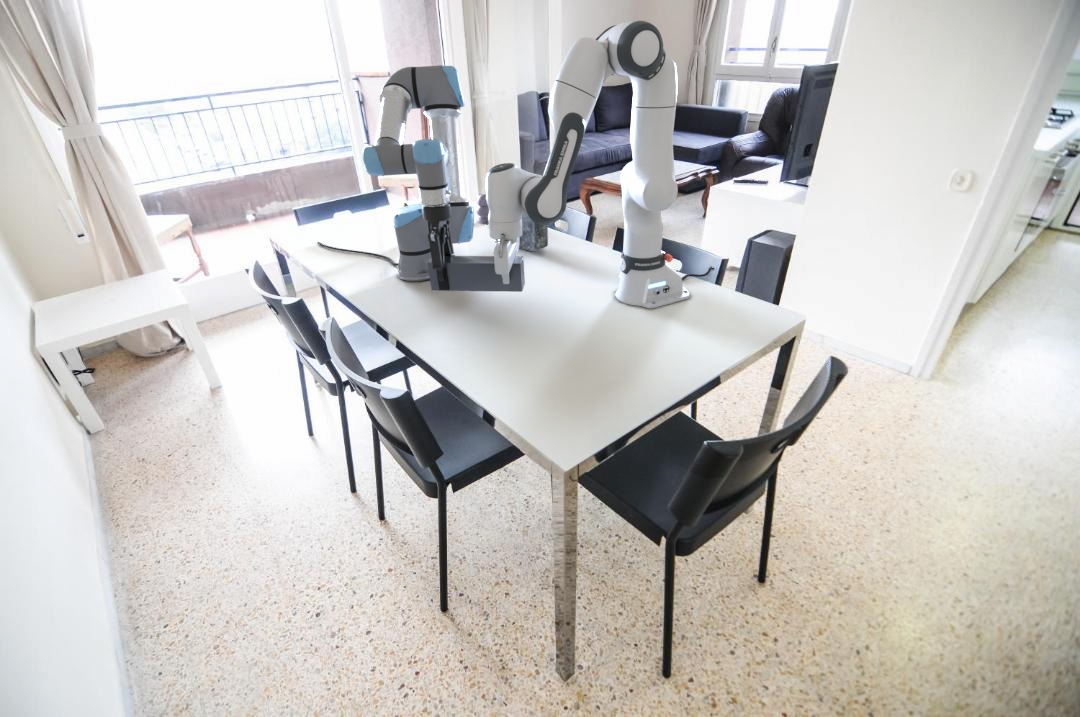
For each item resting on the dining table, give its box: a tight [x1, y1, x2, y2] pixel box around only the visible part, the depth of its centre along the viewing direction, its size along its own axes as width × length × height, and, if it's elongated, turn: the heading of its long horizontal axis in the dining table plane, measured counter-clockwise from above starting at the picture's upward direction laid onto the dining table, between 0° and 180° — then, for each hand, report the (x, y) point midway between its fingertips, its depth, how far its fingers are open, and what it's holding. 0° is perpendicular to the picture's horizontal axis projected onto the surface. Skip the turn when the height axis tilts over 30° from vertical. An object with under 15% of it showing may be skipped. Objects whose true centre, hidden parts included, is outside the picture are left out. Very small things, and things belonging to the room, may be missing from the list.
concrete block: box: [519, 213, 549, 252], centre depth 191 cm, size 27×9×20 cm, turn 36°
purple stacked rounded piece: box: [476, 193, 489, 224], centre depth 226 cm, size 8×8×12 cm
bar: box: [427, 255, 526, 293], centre depth 140 cm, size 26×6×8 cm, turn 84°
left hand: (447, 285), depth 143 cm, fingers closed on bar, 6 cm apart
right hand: (509, 277), depth 140 cm, fingers open, 7 cm apart
